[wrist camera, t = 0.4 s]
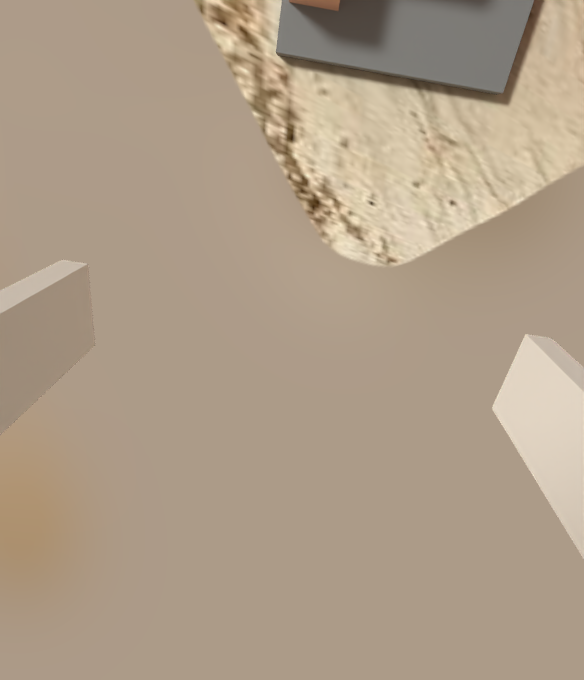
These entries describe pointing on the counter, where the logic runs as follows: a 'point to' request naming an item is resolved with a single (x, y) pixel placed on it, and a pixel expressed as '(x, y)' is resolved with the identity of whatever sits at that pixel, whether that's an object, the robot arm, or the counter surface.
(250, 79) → the counter surface
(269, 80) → the counter surface
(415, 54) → the mat
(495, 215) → the counter surface
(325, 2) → the t block
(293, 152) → the counter surface
